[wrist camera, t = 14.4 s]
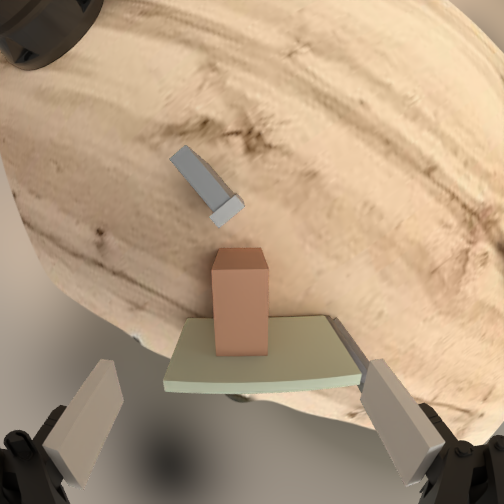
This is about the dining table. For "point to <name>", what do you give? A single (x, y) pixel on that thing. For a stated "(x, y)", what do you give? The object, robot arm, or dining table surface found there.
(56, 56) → the robot arm
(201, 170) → the frame
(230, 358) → the door
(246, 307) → the orange brown rectangular block
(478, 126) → the dining table surface
